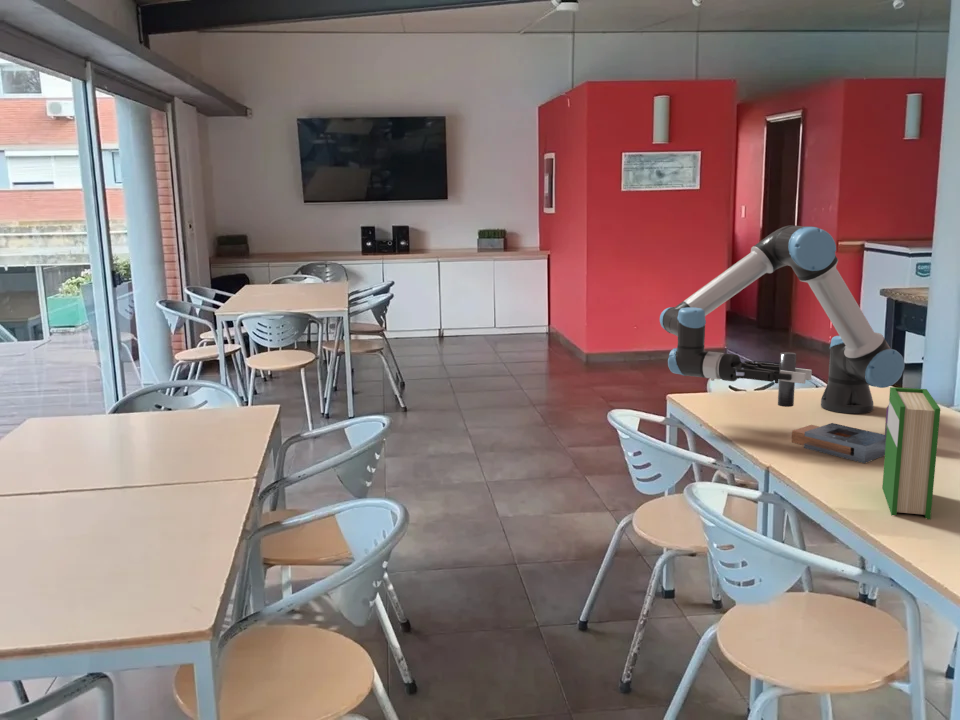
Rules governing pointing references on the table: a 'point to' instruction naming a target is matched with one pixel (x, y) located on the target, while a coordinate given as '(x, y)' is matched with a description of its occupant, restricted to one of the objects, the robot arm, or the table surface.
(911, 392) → the hardback book
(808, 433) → the orange grey flat block
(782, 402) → the pin
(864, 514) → the table surface
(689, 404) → the table surface
